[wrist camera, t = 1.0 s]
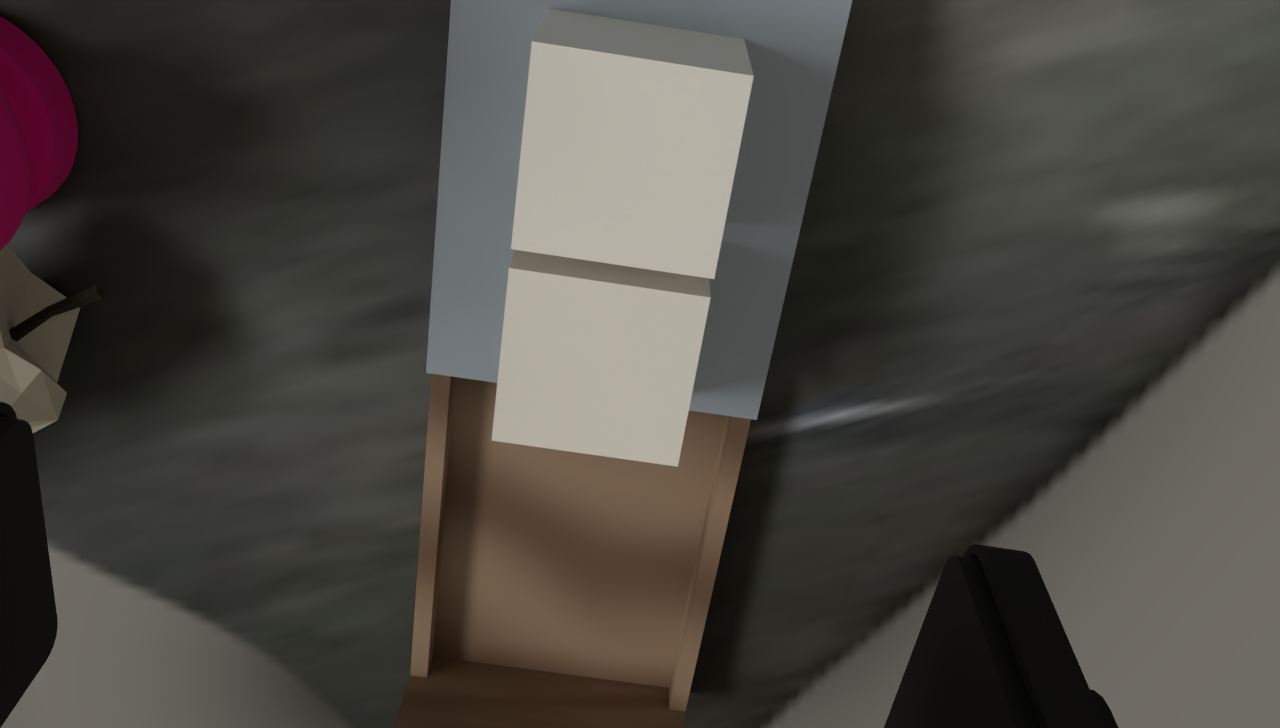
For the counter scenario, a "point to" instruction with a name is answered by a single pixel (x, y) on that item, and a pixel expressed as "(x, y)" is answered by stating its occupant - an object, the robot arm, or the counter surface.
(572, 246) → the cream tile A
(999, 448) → the counter surface
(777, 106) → the slate bench
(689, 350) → the cream square block
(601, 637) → the walnut box
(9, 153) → the pepper mill
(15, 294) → the cream faceted tapered piece
